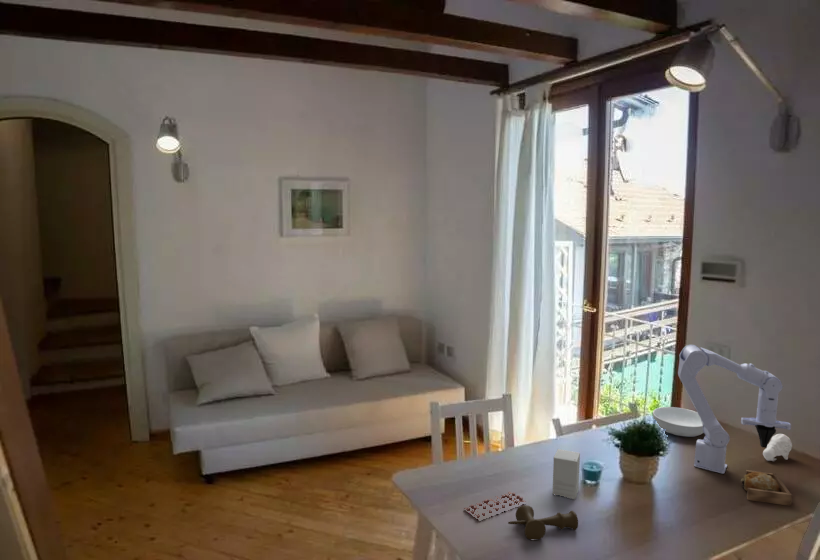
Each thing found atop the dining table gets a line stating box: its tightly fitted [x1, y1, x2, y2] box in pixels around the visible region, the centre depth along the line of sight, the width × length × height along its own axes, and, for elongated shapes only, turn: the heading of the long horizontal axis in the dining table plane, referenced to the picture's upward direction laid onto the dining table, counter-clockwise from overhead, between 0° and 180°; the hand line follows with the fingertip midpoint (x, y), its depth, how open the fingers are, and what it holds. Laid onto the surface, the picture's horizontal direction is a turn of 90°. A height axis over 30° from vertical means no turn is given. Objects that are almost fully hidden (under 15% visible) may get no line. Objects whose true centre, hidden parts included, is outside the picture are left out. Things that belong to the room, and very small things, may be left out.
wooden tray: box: [744, 469, 793, 507], centre depth 180 cm, size 12×15×4 cm
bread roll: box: [740, 471, 780, 492], centre depth 180 cm, size 10×10×8 cm
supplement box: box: [552, 448, 581, 500], centre depth 177 cm, size 7×7×13 cm
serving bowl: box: [652, 406, 704, 438], centre depth 227 cm, size 21×21×7 cm
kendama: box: [507, 504, 579, 540], centre depth 157 cm, size 6×10×20 cm
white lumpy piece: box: [762, 433, 793, 462], centre depth 203 cm, size 6×8×12 cm
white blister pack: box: [463, 491, 526, 518], centre depth 169 cm, size 7×19×2 cm, turn 123°
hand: (763, 446), depth 192 cm, fingers closed
